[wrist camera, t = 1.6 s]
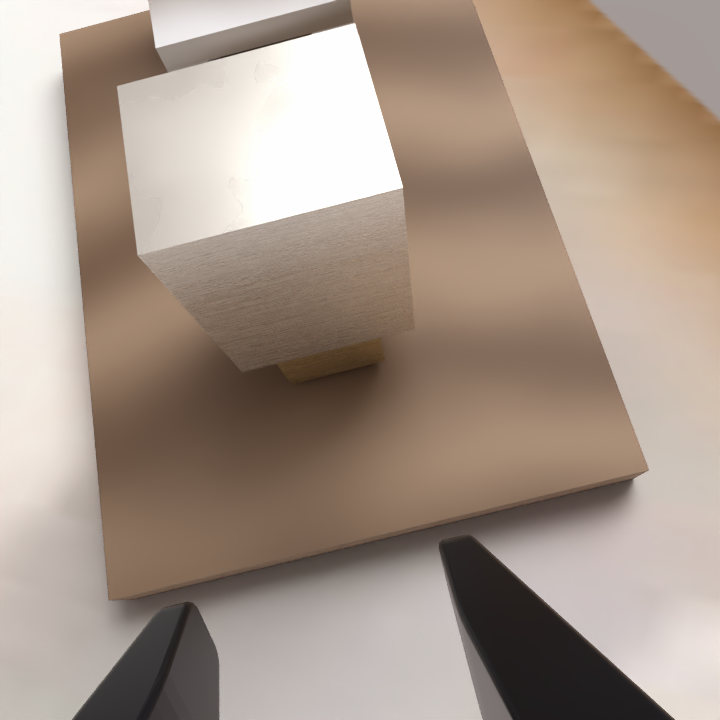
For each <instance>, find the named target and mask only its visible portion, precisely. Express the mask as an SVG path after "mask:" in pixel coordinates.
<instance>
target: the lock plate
mask: <svg viewBox="0 0 720 720" xmlns="http://www.w3.org/2000/svg"><path fill="white" fill-rule="evenodd" d="M148 1H149V8H150V10H148V11H144V12H141V13H137V14H133V15H129V16H126V17H122V18H118V19H114V20H111V21H107V22H103V23H100V24H96V25H92V26H88V27H85V28H81V29H77V30H73V31H70V32H66V33H62V34H60V46H61V57H62V69H63V80H64V92H65V103H66V115H67V126H68V137H69V149H70V160H71V172H72V183H73V195H74V206H75V218H76V229H77V241H78V252H79V264H80V275H81V287H82V298H83V310H84V321H85V333H86V344H87V356H88V367H89V379H90V390H91V401H92V413H93V424H94V436H95V447H96V459H97V470H98V482H99V493H100V505H101V516H102V528H103V539H104V551H105V562H106V574H107V585H108V597H109V600H132V599H136V598H140V597H145V596H149V595H153V594H157V593H161V592H165V591H169V590H174V589H178V588H182V587H186V586H190V585H194V584H198V583H203V582H207V581H211V580H215V579H219V578H223V577H227V576H232V575H236V574H240V573H244V572H248V571H252V570H256V569H261V568H265V567H269V566H273V565H277V564H281V563H285V562H290V561H294V560H298V559H302V558H306V557H310V556H314V555H319V554H323V553H327V552H331V551H335V550H339V549H343V548H348V547H352V546H356V545H360V544H364V543H368V542H372V541H377V540H381V539H385V538H389V537H393V536H397V535H401V534H406V533H410V532H414V531H418V530H422V529H426V528H430V527H435V526H439V525H443V524H447V523H451V522H455V521H459V520H464V519H468V518H472V517H476V516H480V515H484V514H488V513H493V512H497V511H501V510H505V509H509V508H513V507H517V506H522V505H526V504H530V503H534V502H538V501H542V500H546V499H551V498H555V497H559V496H563V495H567V494H571V493H575V492H580V491H584V490H588V489H592V488H596V487H600V486H604V485H609V484H613V483H617V482H621V481H625V480H629V479H633V478H636V477H637V476H639V475H641V474H643V473H645V472H646V471H648V470H649V469H648V466H647V464H646V461H645V458H644V456H643V453H642V450H641V448H640V445H639V442H638V440H637V437H636V434H635V432H634V429H633V426H632V424H631V421H630V418H629V416H628V413H627V410H626V408H625V405H624V402H623V400H622V397H621V394H620V392H619V389H618V386H617V384H616V381H615V378H614V376H613V373H612V370H611V368H610V365H609V363H608V360H607V357H606V355H605V352H604V349H603V347H602V344H601V341H600V339H599V336H598V333H597V331H596V328H595V325H594V323H593V320H592V317H591V315H590V312H589V309H588V307H587V304H586V301H585V299H584V296H583V293H582V291H581V288H580V285H579V283H578V280H577V277H576V275H575V272H574V269H573V267H572V264H571V262H570V259H569V256H568V254H567V251H566V248H565V246H564V243H563V240H562V238H561V235H560V232H559V230H558V227H557V224H556V222H555V219H554V216H553V214H552V211H551V208H550V206H549V203H548V200H547V198H546V195H545V192H544V190H543V187H542V184H541V182H540V179H539V176H538V174H537V171H536V168H535V166H534V163H533V160H532V158H531V155H530V153H529V150H528V147H527V145H526V142H525V139H524V137H523V134H522V131H521V129H520V126H519V123H518V121H517V118H516V115H515V113H514V110H513V107H512V105H511V102H510V99H509V97H508V94H507V91H506V89H505V86H504V83H503V81H502V78H501V75H500V73H499V70H498V67H497V65H496V62H495V59H494V57H493V54H492V52H491V49H490V46H489V44H488V41H487V38H486V36H485V33H484V30H483V28H482V25H481V22H480V20H479V17H478V14H477V12H476V9H475V6H474V4H473V1H472V0H148ZM354 23H355V24H356V28H357V31H358V35H359V38H360V42H361V45H362V49H363V52H364V55H365V59H366V62H367V66H368V69H369V73H370V76H371V80H372V83H373V87H374V90H375V93H376V97H377V100H378V104H379V107H380V111H381V114H382V118H383V121H384V124H385V128H386V131H387V135H388V138H389V142H390V145H391V149H392V152H393V155H394V159H395V162H396V166H397V169H398V173H399V176H400V180H401V183H402V186H403V196H404V208H405V219H406V231H407V243H408V254H409V266H410V278H411V290H412V301H413V313H414V325H415V329H414V330H410V331H406V332H402V333H398V334H394V335H390V336H386V337H382V338H380V339H381V344H382V348H383V353H384V357H385V361H383V362H379V363H375V364H371V365H367V366H363V367H359V368H355V369H351V370H347V371H343V372H339V373H335V374H331V375H327V376H323V377H319V378H315V379H311V380H307V381H303V382H299V383H295V384H291V383H290V382H289V381H288V379H287V378H286V376H285V375H284V373H283V372H282V371H281V369H280V368H279V366H278V365H277V364H274V365H270V366H266V367H262V368H258V369H254V370H250V371H246V372H242V371H241V370H240V369H239V368H238V367H237V366H236V365H235V364H234V363H233V361H232V360H231V359H230V358H229V357H228V356H227V355H226V354H225V352H224V351H223V350H222V349H221V348H220V347H219V346H218V345H217V344H216V342H215V341H214V340H213V339H212V338H211V337H210V336H209V335H208V333H207V332H206V331H205V330H204V329H203V328H202V327H201V326H200V325H199V323H198V322H197V321H196V320H195V319H194V318H193V317H192V316H191V314H190V313H189V312H188V311H187V310H186V309H185V308H184V307H183V306H182V304H181V303H180V302H179V301H178V300H177V299H176V298H175V297H174V296H173V294H172V293H171V292H170V291H169V290H168V289H167V288H166V287H165V285H164V284H163V283H162V282H161V281H160V280H159V279H158V278H157V277H156V275H155V274H154V273H153V272H152V271H151V270H150V269H149V268H148V266H147V265H146V264H145V263H144V262H143V261H142V260H141V259H140V258H139V256H138V254H137V246H136V238H135V230H134V222H133V213H132V205H131V197H130V189H129V181H128V172H127V164H126V156H125V148H124V140H123V131H122V123H121V115H120V107H119V99H118V90H117V86H120V85H123V84H127V83H131V82H135V81H138V80H142V79H146V78H150V77H154V76H157V75H161V74H165V73H169V72H172V71H176V70H180V69H184V68H188V67H191V66H195V65H199V64H203V63H206V62H210V61H214V60H218V59H222V58H225V57H229V56H233V55H237V54H240V53H244V52H248V51H252V50H256V49H259V48H263V47H267V46H271V45H275V44H278V43H282V42H286V41H290V40H293V39H297V38H301V37H305V36H309V35H312V34H316V33H320V32H324V31H327V30H331V29H335V28H339V27H343V26H346V25H350V24H354Z"/></svg>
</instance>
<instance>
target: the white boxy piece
mask: <svg viewBox="0 0 720 720" xmlns="http://www.w3.org/2000/svg"><path fill="white" fill-rule="evenodd" d="M117 90H118V99H119V107H120V115H121V123H122V131H123V140H124V148H125V156H126V164H127V172H128V181H129V189H130V197H131V205H132V213H133V222H134V230H135V238H136V246H137V254H138V256H139V258H140V259H141V260H142V261H143V262H144V263H145V264H146V265H147V266H148V268H149V269H150V270H151V271H152V272H153V273H154V274H155V275H156V277H157V278H158V279H159V280H160V281H161V282H162V283H163V284H164V285H165V287H166V288H167V289H168V290H169V291H170V292H171V293H172V294H173V296H174V297H175V298H176V299H177V300H178V301H179V302H180V303H181V304H182V306H183V307H184V308H185V309H186V310H187V311H188V312H189V313H190V314H191V316H192V317H193V318H194V319H195V320H196V321H197V322H198V323H199V325H200V326H201V327H202V328H203V329H204V330H205V331H206V332H207V333H208V335H209V336H210V337H211V338H212V339H213V340H214V341H215V342H216V344H217V345H218V346H219V347H220V348H221V349H222V350H223V351H224V352H225V354H226V355H227V356H228V357H229V358H230V359H231V360H232V361H233V363H234V364H235V365H236V366H237V367H238V368H239V369H240V370H241V371H242V372H246V371H250V370H254V369H258V368H262V367H266V366H270V365H274V364H277V365H278V366H279V368H280V369H281V371H282V372H283V373H284V375H285V376H286V378H287V379H288V381H289V382H290V383H291V384H295V383H299V382H303V381H307V380H311V379H315V378H319V377H323V376H327V375H331V374H335V373H339V372H343V371H347V370H351V369H355V368H359V367H363V366H367V365H371V364H375V363H379V362H383V361H385V357H384V353H383V348H382V344H381V339H380V338H382V337H386V336H390V335H394V334H398V333H402V332H406V331H410V330H414V329H415V325H414V313H413V301H412V290H411V278H410V266H409V254H408V243H407V231H406V219H405V208H404V196H403V186H402V183H401V180H400V176H399V173H398V169H397V166H396V162H395V159H394V155H393V152H392V149H391V145H390V142H389V138H388V135H387V131H386V128H385V124H384V121H383V118H382V114H381V111H380V107H379V104H378V100H377V97H376V93H375V90H374V87H373V83H372V80H371V76H370V73H369V69H368V66H367V62H366V59H365V55H364V52H363V49H362V45H361V42H360V38H359V35H358V31H357V28H356V24H355V23H354V24H350V25H346V26H343V27H339V28H335V29H331V30H327V31H324V32H320V33H316V34H312V35H309V36H305V37H301V38H297V39H293V40H290V41H286V42H282V43H278V44H275V45H271V46H267V47H263V48H259V49H256V50H252V51H248V52H244V53H240V54H237V55H233V56H229V57H225V58H222V59H218V60H214V61H210V62H206V63H203V64H199V65H195V66H191V67H188V68H184V69H180V70H176V71H172V72H169V73H165V74H161V75H157V76H154V77H150V78H146V79H142V80H138V81H135V82H131V83H127V84H123V85H120V86H117Z"/></svg>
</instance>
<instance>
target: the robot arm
mask: <svg viewBox="0 0 720 720" xmlns="http://www.w3.org/2000/svg"><path fill="white" fill-rule="evenodd" d="M439 552H440V556H441V560H442V564H443V568H444V572H445V577H446V581H447V585H448V589H449V593H450V597H451V601H452V605H453V609H454V613H455V616H456V620H457V624H458V628H459V632H460V635H461V639H462V643H463V647H464V651H465V654H466V658H467V662H468V666H469V670H470V673H471V677H472V681H473V685H474V689H475V692H476V696H477V700H478V704H479V708H480V711H481V714H482V718H483V720H675V719H674V718H673V717H671V716H670V715H669V714H668V713H667V712H666V711H665V710H664V709H663V708H662V707H660V706H659V705H658V704H657V703H656V702H655V701H654V700H653V699H652V698H651V697H649V696H648V695H647V694H646V693H645V692H644V691H643V690H642V689H641V688H640V687H638V686H637V685H636V684H635V683H634V682H633V681H632V680H631V679H630V678H628V677H627V676H626V675H625V674H624V673H623V672H622V671H621V670H620V669H619V668H617V667H616V666H615V665H614V664H613V663H612V662H611V661H610V660H609V659H608V658H606V657H605V656H604V655H603V654H602V653H601V652H600V651H599V650H598V649H597V648H595V647H594V646H593V645H592V644H591V643H590V642H589V641H588V640H587V639H585V638H584V637H583V636H582V635H581V634H580V633H579V632H578V631H577V630H576V629H574V628H573V627H572V626H571V625H570V624H569V623H568V622H567V621H566V620H565V619H563V618H562V617H561V616H560V615H559V614H558V613H557V612H556V611H555V610H553V609H552V608H551V607H550V606H549V605H548V604H547V603H546V602H545V601H544V600H542V599H541V598H540V597H539V596H538V595H537V594H536V593H535V592H534V591H533V590H531V589H530V588H529V587H528V586H527V585H526V584H525V583H524V582H523V581H522V580H520V579H519V578H518V577H517V576H516V575H515V574H514V573H513V572H512V571H510V570H509V569H508V568H507V567H506V566H505V565H504V564H503V563H502V562H501V561H499V560H498V559H497V558H496V557H495V556H494V555H493V554H492V553H491V552H490V551H488V550H487V549H486V548H485V547H484V546H483V545H482V544H481V543H480V542H479V541H477V540H476V539H475V538H474V537H473V536H471V535H462V536H458V537H454V538H450V539H446V540H442V541H441V542H440V543H439ZM72 720H219V659H218V653H217V650H216V647H215V644H214V642H213V640H212V638H211V636H210V633H209V631H208V629H207V627H206V625H205V623H204V621H203V618H202V616H201V614H200V612H199V610H198V608H197V607H196V606H195V605H194V604H193V603H191V602H185V603H181V604H177V605H173V606H169V607H165V608H162V609H160V610H159V611H158V612H157V613H156V614H155V615H154V616H153V618H152V619H151V620H150V622H149V623H148V624H147V625H146V627H145V628H144V629H143V630H142V632H141V633H140V634H139V635H138V637H137V638H136V639H135V641H134V642H133V643H132V644H131V646H130V647H129V648H128V649H127V651H126V652H125V653H124V654H123V656H122V657H121V658H120V660H119V661H118V662H117V663H116V665H115V666H114V667H113V668H112V670H111V671H110V672H109V673H108V675H107V676H106V677H105V678H104V680H103V681H102V682H101V684H100V685H99V686H98V687H97V689H96V690H95V691H94V692H93V694H92V695H91V696H90V697H89V699H88V700H87V701H86V703H85V704H84V705H83V706H82V708H81V709H80V710H79V711H78V713H77V714H76V715H75V716H74V718H73V719H72Z"/></svg>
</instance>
